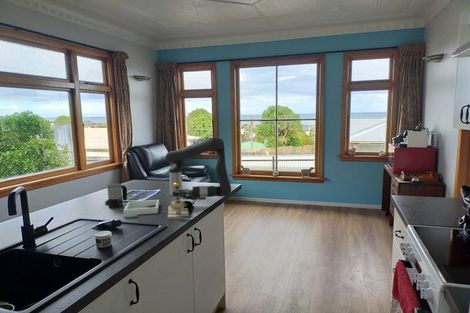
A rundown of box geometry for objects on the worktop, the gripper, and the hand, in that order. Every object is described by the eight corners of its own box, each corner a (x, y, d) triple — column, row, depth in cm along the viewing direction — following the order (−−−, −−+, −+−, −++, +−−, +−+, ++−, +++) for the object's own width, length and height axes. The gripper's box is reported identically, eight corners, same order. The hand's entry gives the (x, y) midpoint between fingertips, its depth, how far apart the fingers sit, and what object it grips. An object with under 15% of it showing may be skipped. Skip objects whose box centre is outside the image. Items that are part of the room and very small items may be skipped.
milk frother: (118, 209, 202) (116, 186, 200) (96, 208, 205) (94, 186, 203) (129, 203, 216) (128, 182, 214) (109, 202, 219) (107, 181, 217)
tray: (128, 208, 203) (128, 201, 202) (159, 206, 206) (158, 199, 206) (123, 217, 184) (123, 210, 183) (157, 214, 188) (157, 207, 187)
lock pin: (175, 205, 202) (174, 182, 200) (182, 206, 201) (181, 182, 199) (173, 208, 197) (172, 184, 195) (180, 208, 196) (179, 184, 195)
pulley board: (168, 207, 203) (167, 193, 202) (187, 206, 205) (186, 192, 204) (167, 219, 179) (167, 204, 178) (188, 217, 181) (188, 202, 180)
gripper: (198, 184, 207) (172, 185, 204) (200, 188, 193) (172, 190, 190) (199, 195, 208) (172, 196, 205) (201, 200, 194) (172, 202, 191)
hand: (172, 193), depth 197 cm, fingers closed on lock pin, 2 cm apart
